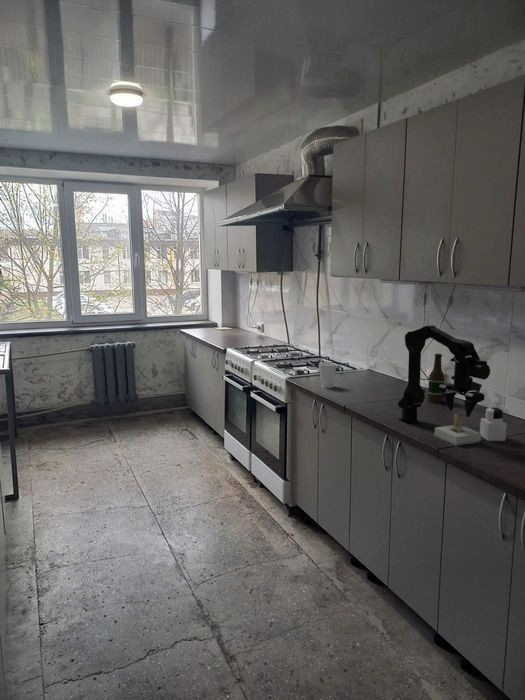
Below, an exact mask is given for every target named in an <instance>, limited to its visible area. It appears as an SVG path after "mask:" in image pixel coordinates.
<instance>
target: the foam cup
mask: <svg viewBox="0 0 525 700" xmlns="http://www.w3.org/2000/svg"><path fill="white" fill-rule="evenodd" d="M318 368H319V375H320V384H321V385H320V386H321V388H323V389H332V388H333V387H334V383H335V377H336V370H337V363H335V362H330V361H329V362H327V361H326V362H319V364H318Z"/></svg>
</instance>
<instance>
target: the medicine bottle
mask: <svg viewBox="0 0 525 700" xmlns="http://www.w3.org/2000/svg"><path fill="white" fill-rule="evenodd" d="M503 414H504V411H503V410H502V409H501V408H499V407H488V408H486V409H485V417H483V418H480V427H479V433H481V438H483V439H484V440H486V441H488V442H505V441H506V435H507V426H508V425H507V422H505V421H503V416H504V415H503Z"/></svg>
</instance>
